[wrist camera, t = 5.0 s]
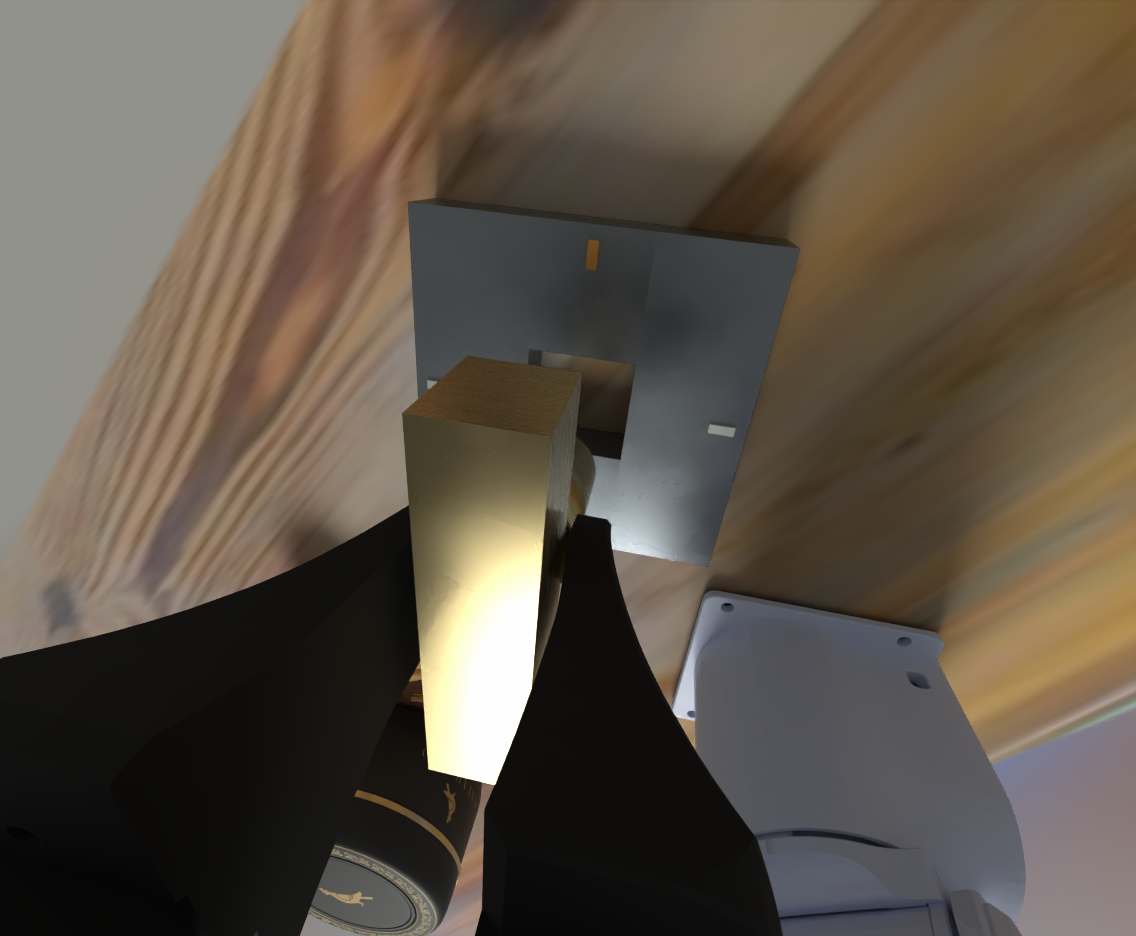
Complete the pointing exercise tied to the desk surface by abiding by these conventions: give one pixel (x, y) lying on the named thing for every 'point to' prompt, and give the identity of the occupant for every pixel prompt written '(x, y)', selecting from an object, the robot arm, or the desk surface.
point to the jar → (398, 839)
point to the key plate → (615, 343)
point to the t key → (489, 545)
